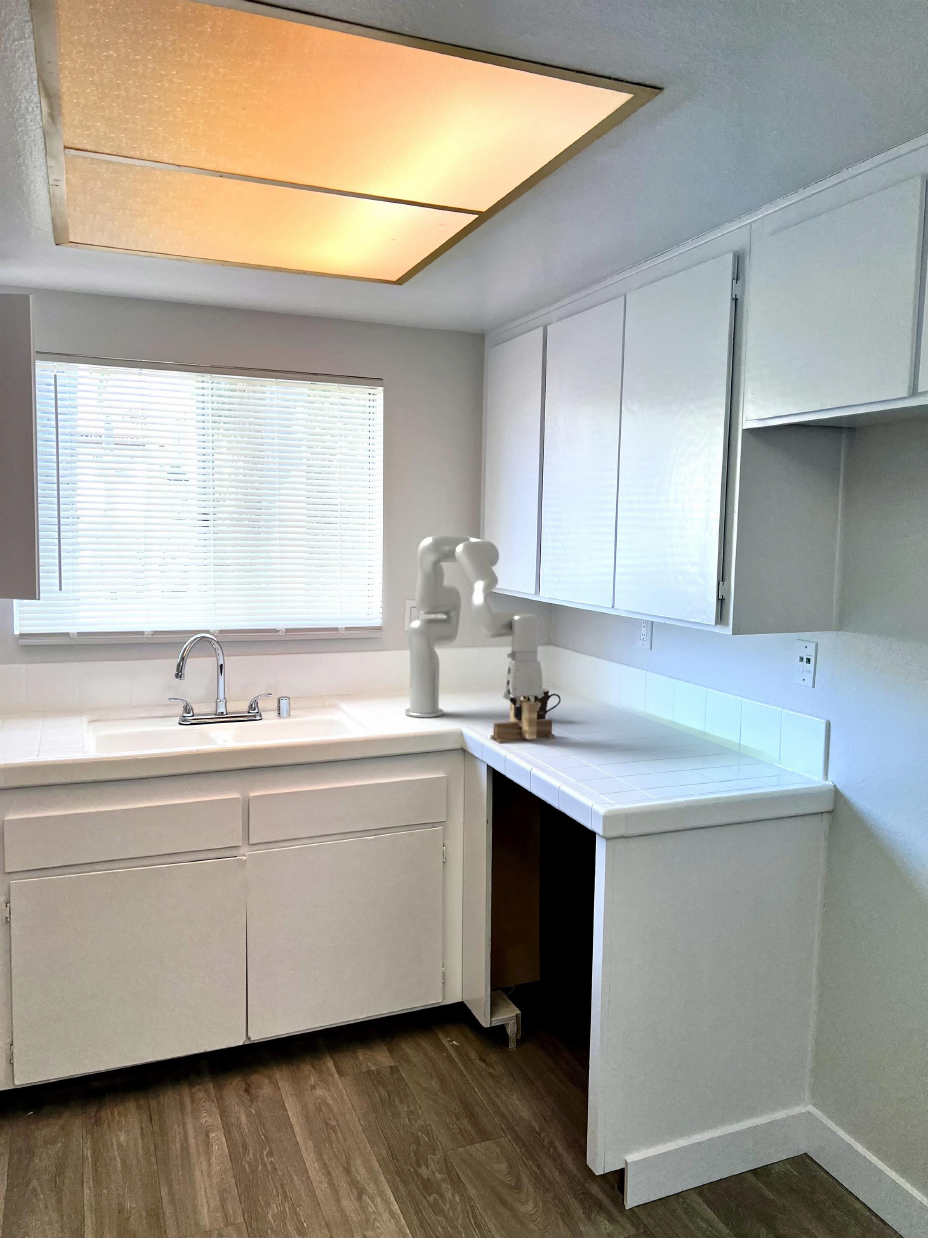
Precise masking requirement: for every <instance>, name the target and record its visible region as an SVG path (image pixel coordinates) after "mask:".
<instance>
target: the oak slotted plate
mask: <svg viewBox="0 0 928 1238" xmlns="http://www.w3.org/2000/svg"><path fill="white" fill-rule="evenodd" d="M509 702H510V701H509ZM509 707H510V710H509V713H510V714H509V722H514V721H516V722H518V723H519V730H522V736H523V737H525V738H527V739H526V740H534V739H537V738H536V730H537V704H535V703H533V702H530V701H528V700H525V699H523V697H521V700H520V707H521V708H522V713H521V720H517V719H515V717H514V705H513V704H512V703H511V702H510V706H509Z"/></svg>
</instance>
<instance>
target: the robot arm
mask: <svg viewBox="0 0 928 1238" xmlns="http://www.w3.org/2000/svg"><path fill="white" fill-rule="evenodd" d="M499 559H500V554H499V550H498V548H497V546H496V545H495V544H494V543H493V542H492V541H489V540H486V539H481V538H477V537H474V536H473V537H472V536H469V535H448V534H447V535H445V534H444V535H443V534H441V535H438V534H437V535H432V536H431V535H430V536H427V537H426V538H424V539H423V540H422V541H421V542H420V544H419V546H418V549H417V569H418V570H417V571H418V572H417V580H416V590H415V599H414V601H415V602H414V603H415V604H414V605H415V609H416V612H418V613H419V614H422V615H429V616H430V615H437V617H436V616H435V617H422V618H418V619H415V620H413V621H411V622H410V623H409V625H408V627H407V630H406V631H407V632H406V634H407V641H408V645H409V646H408V647H409V658H410V659H409V660H410V661H409V664H410V665H409V670H410V673H409V676H410V680H409V681H410V683H409V691H410V692H409V707H408V708H406V709H405V712H404V714H405V715H406V716H409V717H414V718H436V716H437V717H440V716H442V715H444V710H443V709H442V708H440V657H439V655H438V653H437V651H436V649H435V647H440V646H441V647H443V646H450V645H451V644H453V643H454V642H455V641H456V640H457V637H458V633H459V628H460V616H461V609H462V597H461V594H460V592H459V589H457V588H456V586H454V585H451V584H444V580H445V571H444V568H443V566H442V564H441V563H457V564H458V566H459V568H460V570H461V572H462V573H463V576H464V577H465V579H466V581H467V583H468V584H469V587H470V588H471V590H472V594H471V597H470V598H471V600H470V610H471V615H472V617H473V619H474V623H475V624H476V625H477V627H478V629H479V630H480V631H481V633H482V635H484V636H485V637H487V638H489V639H500V638H509V637H511V650H510V653H507V658H508V659H510V660H509V662H508V666H507V672H506V677H505V678H506V679H505V680H506V681H505V691H504V693H503V696H502V698H503V699H505V700H507V701H509V702H511V703H512V704H513V705H514V717H515V719H517V720H521V713H522V708H521V707H520V700H521V698H523V697H525V696H526V699H527V700H528V701H530V702H533V703H535V702H536V701H537V700H538V699H539V698H541V697H543V696H544V693H543V688H544V687H543V671H542V666H541V665H542V664H541V661H540V660H538V645H539V640H538V638H539V619H538V616H536V615H535V614H531V613H522V612H518V611H513V610H510V611H493V610H492V608H491V606H490V604H489V602H488V598H487V597H488V595H487V594H489V593H491V592H492V591H493V590H494V589H496V587H497V585H498V583H499V579H498V576H497V575H496V572H495V570H494V569H493V568H494V567H495V566H496V565H497V564H498V563H499V561H500V560H499Z"/></svg>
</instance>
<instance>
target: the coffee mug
mask: <svg viewBox="0 0 928 1238" xmlns="http://www.w3.org/2000/svg"><path fill="white" fill-rule="evenodd" d="M543 693H544V696H543V697H541V698H539V699H538V700H537V701H536V702H535V704H537V720H539V719H546V717H547V713H548V712H550V711H552V710H554V709H556V708H557V707H558V706H559V705H560V703H561V701H562V698H561V696H560V695H559V694H558V693H551V694H550V689H549V688H545V687H543ZM553 696H555V697H557V698H558V702H557V703H556V704H555V705H553V706H552V707H551V708H548V703H549V702H548V701H550V698H552V697H553ZM522 698H523V699H525V700H527V699H526V696H525V697H522Z"/></svg>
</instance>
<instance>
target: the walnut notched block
mask: <svg viewBox="0 0 928 1238" xmlns="http://www.w3.org/2000/svg"><path fill="white" fill-rule="evenodd" d="M543 738H544V739H548V740H550V739H555V738H556V735H555V734H554V733H553V720H552V719H550V718H545V719H539V720H537V730H536V739H543ZM492 739H493V740H492ZM490 740H492V741H494V742H496V743H498V744H506V742H508V740H510V741H519V740H528V739H527V738H525V737H523V736H522V730H519V723H518V722H516V721H514V722H510V721H503V722H502V721H501V722H493V733H492V735H491V734H490Z"/></svg>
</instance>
